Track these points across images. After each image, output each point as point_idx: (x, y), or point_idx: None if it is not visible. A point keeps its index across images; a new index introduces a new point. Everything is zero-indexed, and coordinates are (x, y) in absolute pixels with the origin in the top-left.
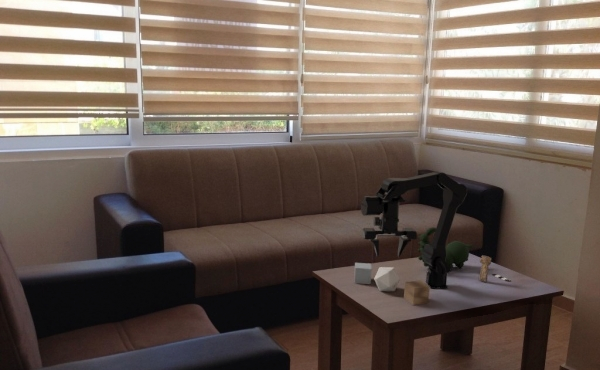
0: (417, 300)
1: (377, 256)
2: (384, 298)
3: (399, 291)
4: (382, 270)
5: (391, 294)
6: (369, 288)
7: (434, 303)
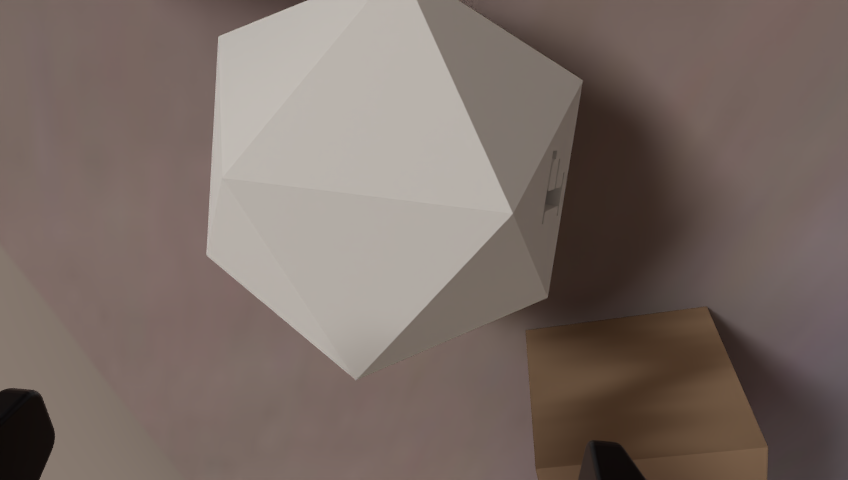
0: None
1: (24, 456)
2: None
3: None
4: (269, 266)
5: None
6: (196, 56)
7: None
